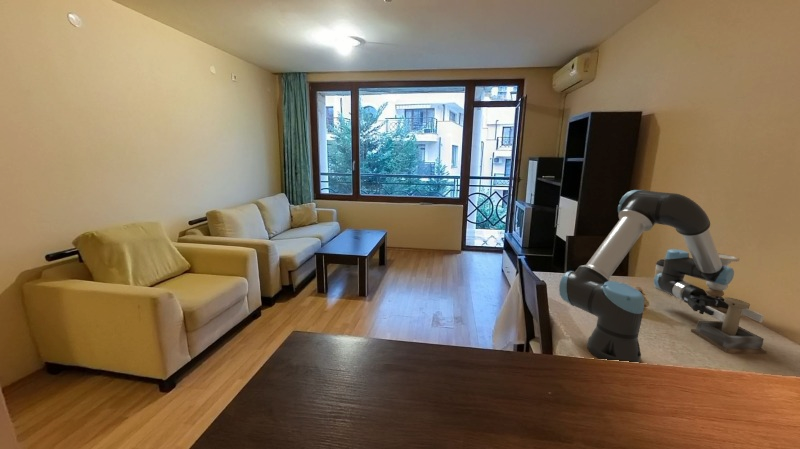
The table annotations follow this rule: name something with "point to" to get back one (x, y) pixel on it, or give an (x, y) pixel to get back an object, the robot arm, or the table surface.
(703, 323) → the socket
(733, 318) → the handle
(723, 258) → the candle holder
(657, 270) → the coffee cup
